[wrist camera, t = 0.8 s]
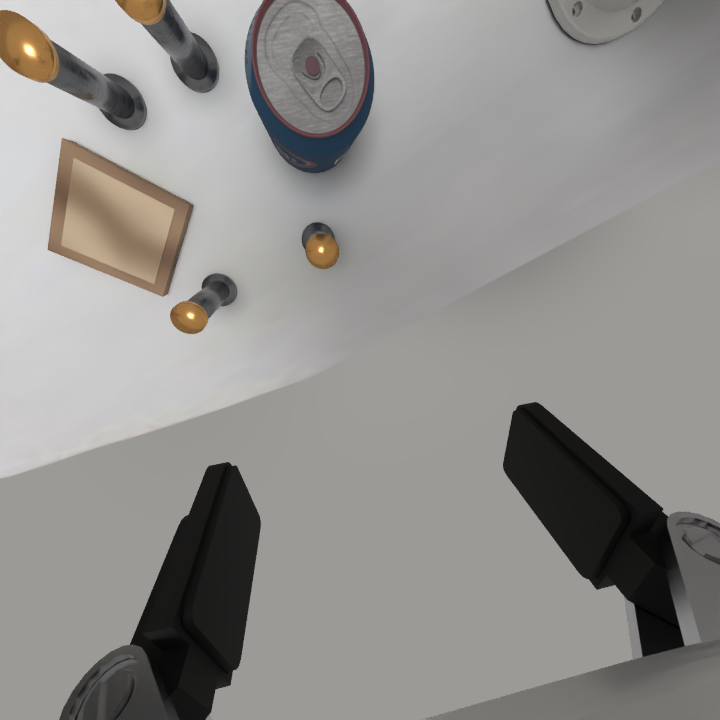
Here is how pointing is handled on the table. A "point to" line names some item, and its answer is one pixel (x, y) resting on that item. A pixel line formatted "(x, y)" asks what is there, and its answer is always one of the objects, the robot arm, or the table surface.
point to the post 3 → (203, 304)
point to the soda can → (309, 78)
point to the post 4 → (320, 245)
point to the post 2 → (176, 42)
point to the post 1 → (68, 71)
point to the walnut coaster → (116, 220)
